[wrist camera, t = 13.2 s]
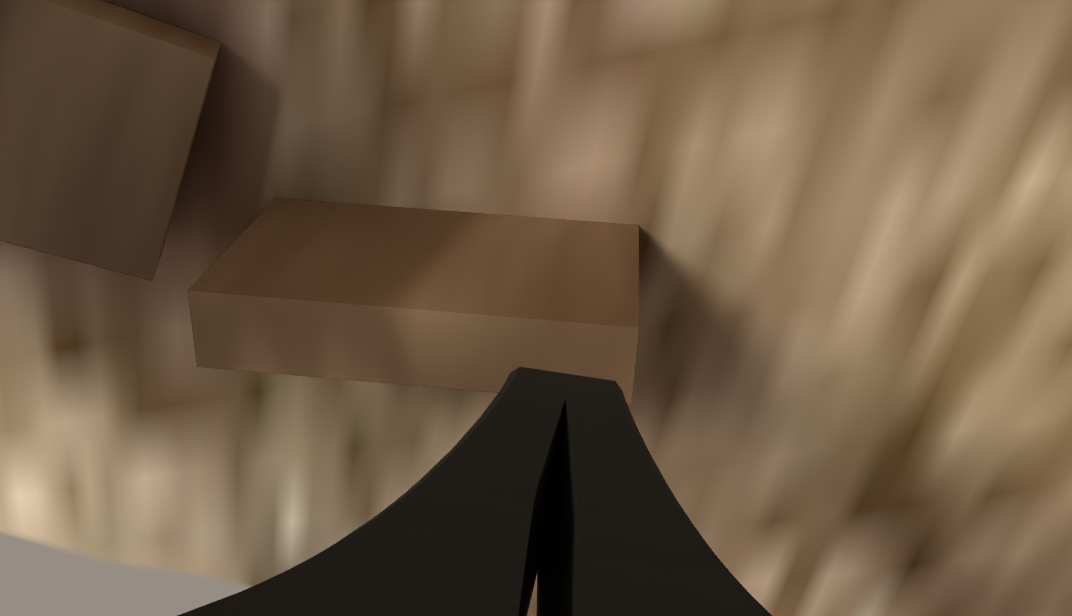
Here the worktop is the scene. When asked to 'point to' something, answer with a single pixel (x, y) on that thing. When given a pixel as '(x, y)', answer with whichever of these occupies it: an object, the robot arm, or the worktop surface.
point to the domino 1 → (96, 128)
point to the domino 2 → (420, 297)
